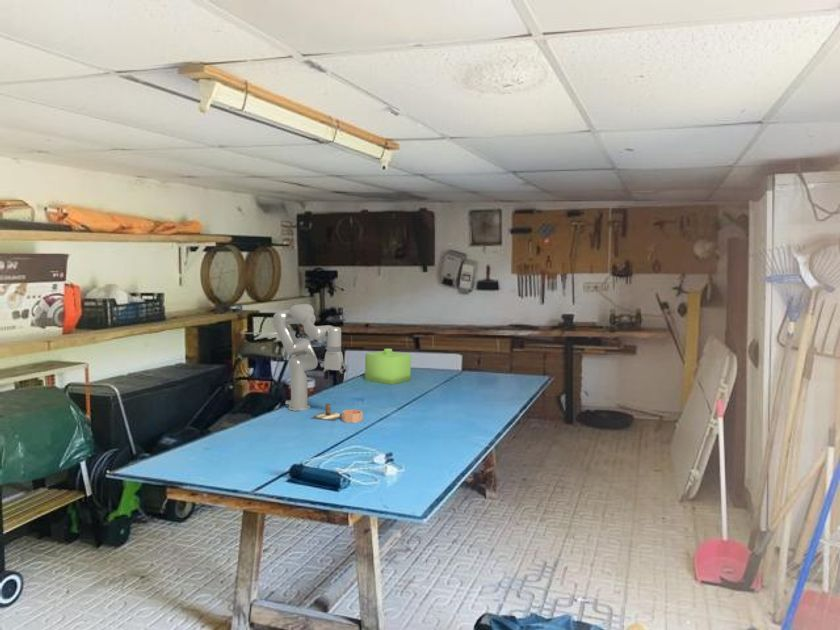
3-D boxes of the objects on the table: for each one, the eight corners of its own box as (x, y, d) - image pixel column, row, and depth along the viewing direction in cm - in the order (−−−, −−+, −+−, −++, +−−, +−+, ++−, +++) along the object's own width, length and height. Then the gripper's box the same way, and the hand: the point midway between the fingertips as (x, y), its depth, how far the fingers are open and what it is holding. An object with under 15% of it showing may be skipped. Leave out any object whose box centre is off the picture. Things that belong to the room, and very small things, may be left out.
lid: (312, 418, 362) (312, 405, 361) (322, 412, 374) (322, 400, 374) (333, 420, 358) (333, 407, 358) (343, 414, 370) (343, 402, 370)
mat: (309, 419, 362) (309, 418, 362) (321, 413, 376) (321, 412, 376) (334, 422, 357) (334, 421, 357) (345, 415, 371) (345, 414, 371)
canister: (410, 380, 476) (410, 349, 474) (391, 384, 460) (391, 352, 457) (384, 376, 492) (384, 345, 489) (365, 380, 475) (365, 348, 473)
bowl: (339, 422, 356) (339, 413, 356) (347, 418, 366) (347, 409, 366) (357, 424, 353) (357, 415, 353) (364, 419, 363) (364, 410, 363)
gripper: (317, 349, 363) (317, 379, 365) (344, 351, 357) (344, 382, 359) (324, 347, 370) (323, 377, 372) (351, 349, 364) (350, 380, 365)
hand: (334, 379), depth 365 cm, fingers open, 9 cm apart
